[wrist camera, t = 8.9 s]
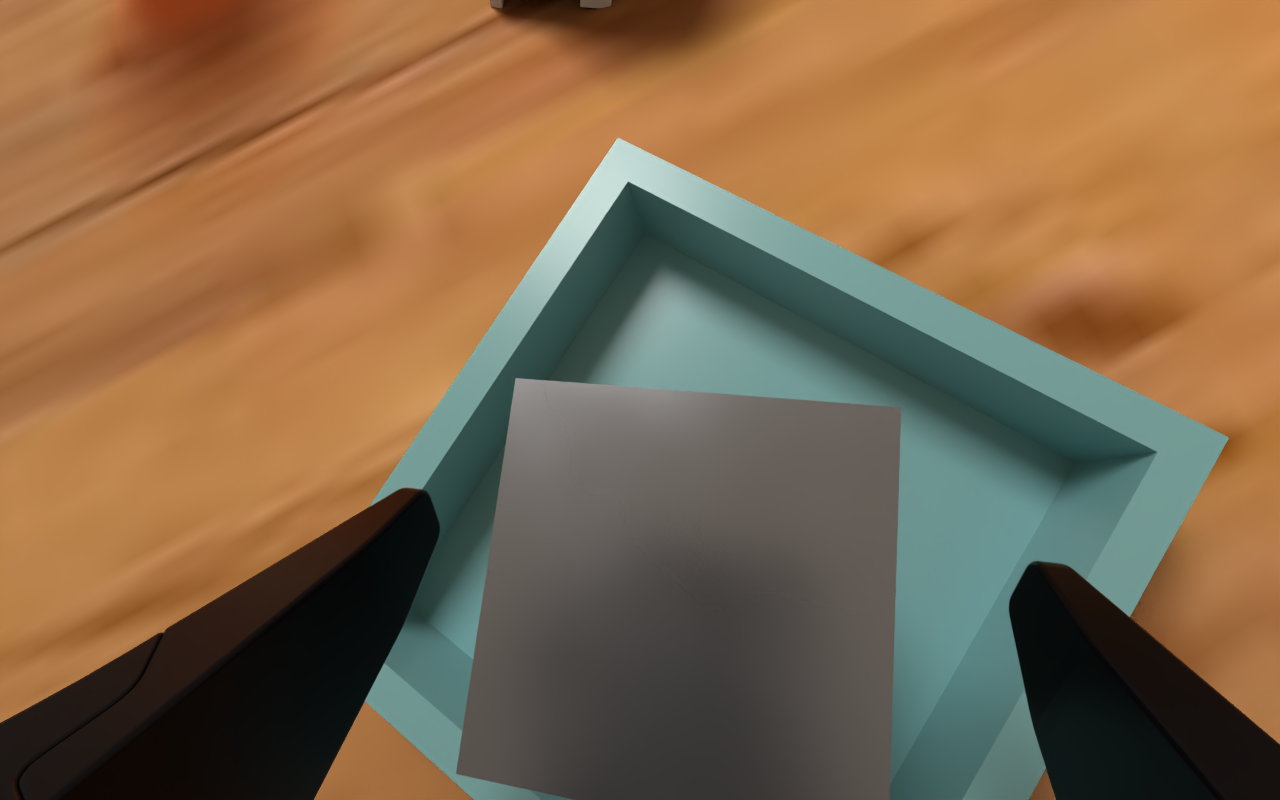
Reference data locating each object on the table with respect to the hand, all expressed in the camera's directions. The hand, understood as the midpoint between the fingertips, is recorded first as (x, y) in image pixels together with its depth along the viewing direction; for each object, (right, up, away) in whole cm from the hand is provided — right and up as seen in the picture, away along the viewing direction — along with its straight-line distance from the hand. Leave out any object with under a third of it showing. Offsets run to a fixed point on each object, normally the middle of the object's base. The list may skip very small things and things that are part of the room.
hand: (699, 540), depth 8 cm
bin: (+1, -2, +9) cm, 9 cm away
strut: (+1, -2, +8) cm, 8 cm away
